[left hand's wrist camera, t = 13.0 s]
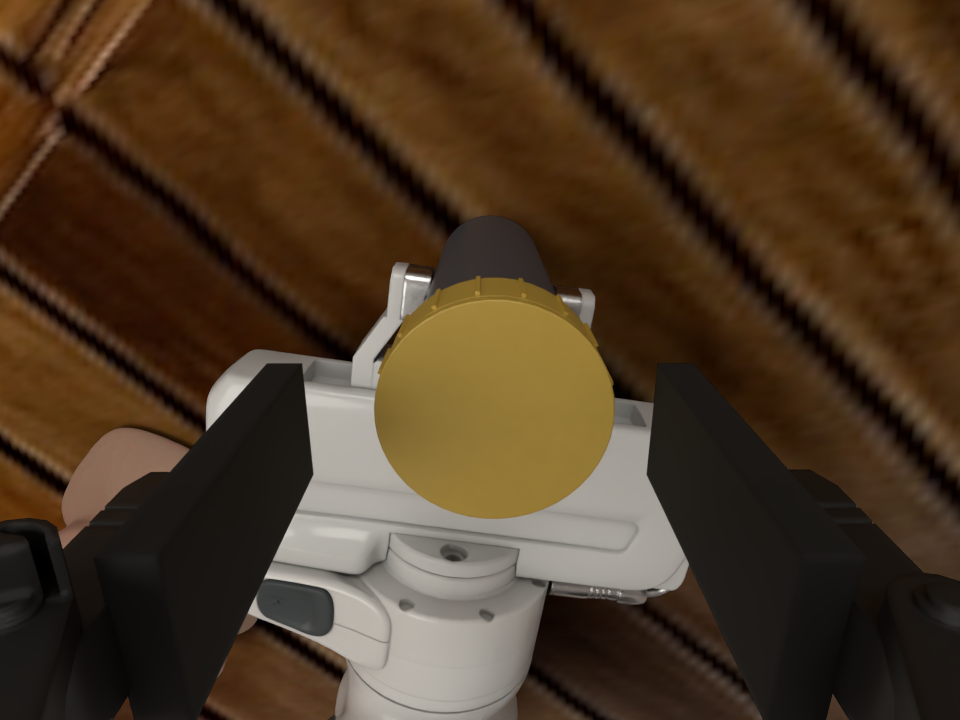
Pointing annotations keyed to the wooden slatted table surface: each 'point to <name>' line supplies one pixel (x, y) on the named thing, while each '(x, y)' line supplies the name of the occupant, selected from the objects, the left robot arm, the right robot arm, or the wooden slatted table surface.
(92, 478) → the anatomical model
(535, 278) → the jar
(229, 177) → the wooden slatted table surface
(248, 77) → the wooden slatted table surface
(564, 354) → the lid
